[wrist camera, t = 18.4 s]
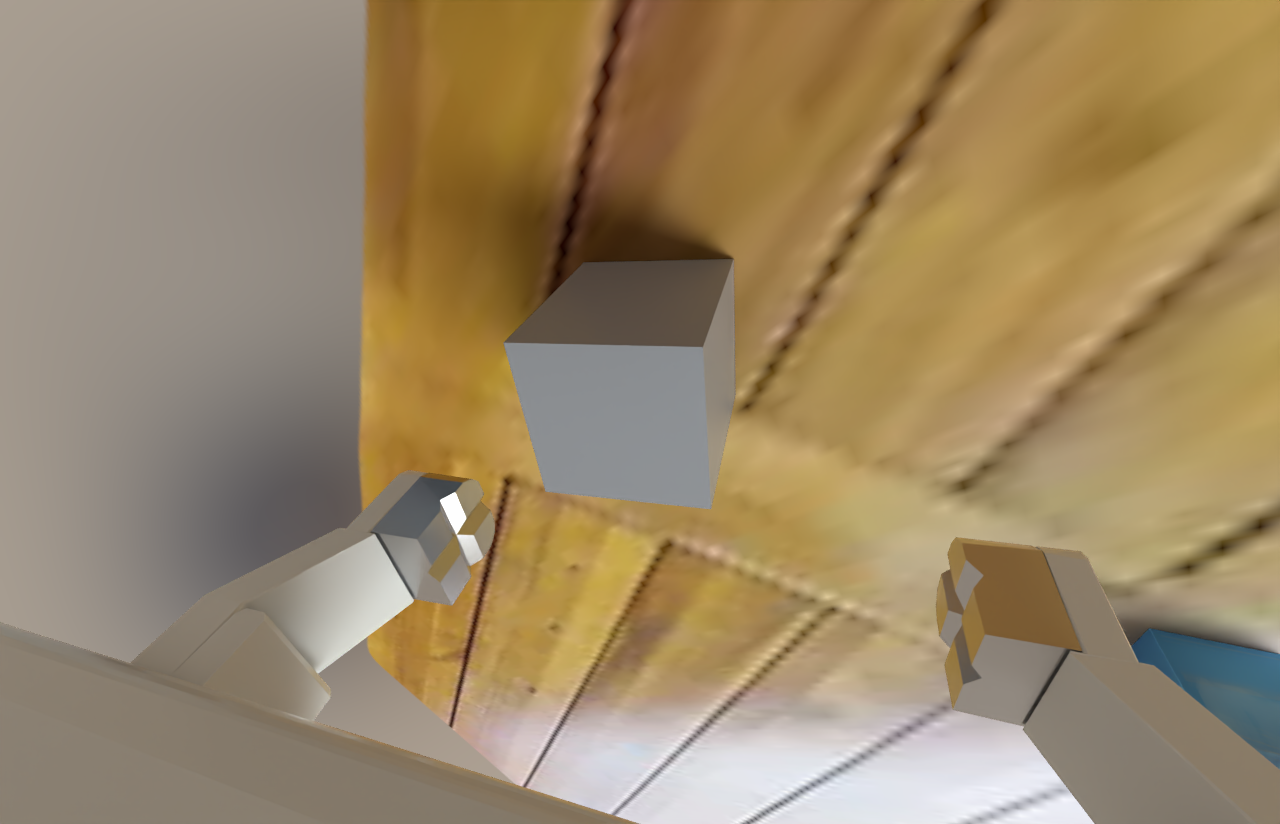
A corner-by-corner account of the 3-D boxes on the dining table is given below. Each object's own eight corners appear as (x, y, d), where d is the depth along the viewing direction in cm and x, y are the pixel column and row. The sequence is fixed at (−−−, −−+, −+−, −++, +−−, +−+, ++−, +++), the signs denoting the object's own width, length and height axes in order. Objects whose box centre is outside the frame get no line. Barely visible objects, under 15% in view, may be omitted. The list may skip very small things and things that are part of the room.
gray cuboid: (733, 258, 24) (702, 347, 18) (735, 394, 29) (711, 509, 22) (583, 262, 27) (503, 342, 20) (605, 388, 31) (545, 491, 24)
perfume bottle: (1148, 627, 30) (1300, 893, 21) (1279, 653, 29) (1502, 949, 20) (1095, 682, 34) (1203, 930, 25) (1209, 708, 33) (1369, 979, 23)
